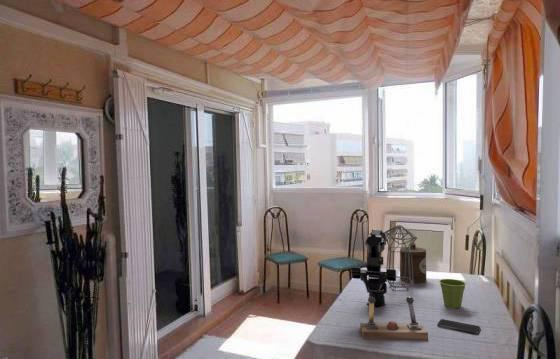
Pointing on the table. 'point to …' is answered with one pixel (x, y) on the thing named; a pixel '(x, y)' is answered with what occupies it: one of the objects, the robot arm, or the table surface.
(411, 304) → the graphite lever
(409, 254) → the geometric lantern
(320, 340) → the table surface
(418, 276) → the wooden container
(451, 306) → the plant pot
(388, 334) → the switch panel
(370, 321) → the dark gray metal lever
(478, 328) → the phone
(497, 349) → the table surface
